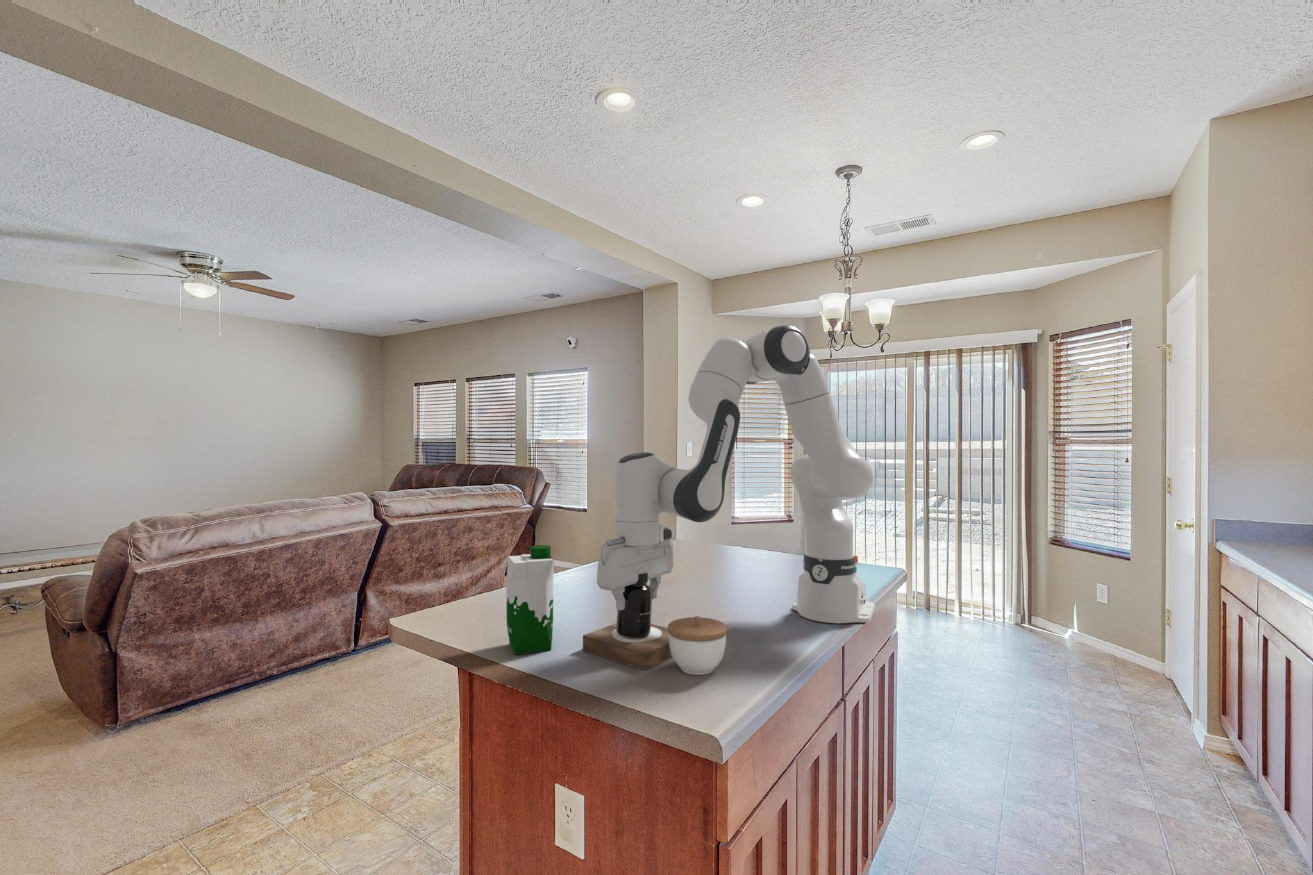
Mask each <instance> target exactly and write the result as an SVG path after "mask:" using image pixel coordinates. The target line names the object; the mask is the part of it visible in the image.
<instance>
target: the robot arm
mask: <svg viewBox="0 0 1313 875" xmlns="http://www.w3.org/2000/svg"><path fill="white" fill-rule="evenodd" d="M824 373H825V372H824V371H823V369H822V367H821V365H820V363H819V361H818V359H817V357H816V356H815V355H813V354H812V353H811V350H810V347H809V343H808V341H807V338H806V336H805V335H804V333H802V332H801V330H800V329H798V328H797V327H796V326H793V325H778V326H774V327H773V328H771V329H767V330H763V331H761V332H757V333H755V334H753V336H751V337H749V338H747V339H745V340H739V339H737V338H736V337H735V338H733V337H723V338H720V339H717V341H715V342H714V343H713V345H712V346H711V348H710V349H709V351H708V352H707V354H706V355H705V357H704V358H703V360H702V361H701V364H700V366H699V367H698V370H697V372H696V374H695V376H694V378H693V381H692V384H691V385H690V388H689V393H688V400H687V401H688V404H689V407H690V409H691V411H692V412H693V413H694V415H695V416H696V417H697V418H699V419H700V420H701V421H703V422H704V423H706V433H705V437H704V440H703V444H702V446H701V451H700V453H699V456H698V460H697V462H696V463H695V465H694V466H693V467H692V468H690V469H682V468H676V467H674V466H671V465H669V464H667V463H666V462H664V461H662V460H660V459H659V458H658V457H657V456H656V455H655V454H654V453H653V452H640V453H632V454H627V455H625V456H623V457H621V458H620V459H619V461H618V463H617V465H616V470H615V479H614V500H615V503H616V513H615V516H614V538H612V539H611V538H610V539H607V540H605V543H603V544H602V546H601V547H600V553H599V557H598V563H597V571H596V584H597V586H598V588H599V589H601V590H605V591H611V594H612V596H613V598H614V600H615V607H616V609H618V610H624V609H626V608H627V602H628V600H625V599H624V596H623V593H622V592H624V588H625V587H626V586H629V585H632V584H635V583H637V581H638V574H642V573H648V581H650V582H649V585H648V586H649V587H650V588H651V590H652V600H656V599H658V589H659V586H660V584H661V582H662V576H664V575H668V574H671V573H672V571H673V568H674V564H675V562H674V561H675V560H674V559H675V550H674V549H675V547H674V542H673V540H674V537H675V530H674V529H673V528H672V527H668V526H665V525H662V524H660V514H661V513H663V514H665V515H666V514H667V515H669V516H670V515H671V516H674V517H680V518H683V519H686V520H689V521H692V522H694V523H695V522H696V523H704V522H707V521H710V520H711V519H713V518H714V517H715V516H716V515H717V514H718V512H720V510H721V508H722V506H723V504H724V500H725V487H726V480H727V474H728V473H727V472H728V470H729V466H730V462H731V460H732V455H733V451H734V447H735V444H736V439H737V436H738V433H739V432H738V431H739V429H740V423H741V412H740V408H739V406H740V401H741V398H742V396H743V393H744V390H745V387H746V386H747V384H749V385H754V384H757V383H761V382H762V383H763V382H767V381H768V382H769V381H775V382H776V384H777V385H778V387H779V389H780V393H781V394H780V395H781V399H782V403H783V406H784V409H785V412H786V416H787V420H788V424H789V427H790V430H791V433H792V436H793V437H794V439H796V440H797V442H798V443H800V446H802V448H803V449H804V451H805V453H806V454H803V455H801V456H800V457H797V458H796V459H795V460H794V461H793V463H792V464H791V466H790V469H789V478H790V480H791V483H792V485H793V486H794V488H795V489H796V491H797V494H798V498H799V502H800V506H801V509H802V513H803V520H804V535H805V536H804V538H805V539H804V540H805V543H804V544H805V546H804V547H805V548H804V549H805V553H804V554H803V560H802V565H803V570H804V571H803V573H801V574H800V575H799V576H798V578H797V580H798V582H797V593H796V594H797V596H796V602H795V603H794V602H793V603H792V604H791V609H792V610H794V611H796V612H798V614H799V615H800V616H801V617H803V618H805V619H808V620H812V621H815V622H819V623H821V622H822V623H830V624H849V623H851V624H852V623H871V621H872V617H873V614H874V612H875V610H876V603H875V602H872V601H869V600H867V598H866V596H867V595H866V591H867V590H866V584H865V583H864V582H863V580H862V579H861V577H860V576H859V575H858V574H857V564H858V563H859V557H858V555H857V554H856V555H855V554H854V526H853V522H852V519H851V518H850V517H849V516H848V514H847V512H846V510H845V507H844V504H843V503H844V502H843V501H849V500H856V499H860V498H861V497H864V496H865V495H867V493H869V491H870V489H871V487H872V486H873V485H872V484H873V481H874V472H873V470H872V466H871V465H870V464H869V463H868V461H867V460H865V459H864V458H863V457H862V456H861V455H860V454H859V453H858V452H857V451H856V449H855V448H854V446H853V445H852V443H851V442H850V440H849V438H848V437H847V435H846V432H845V431H844V430H843V427H842V425H841V423H840V420H839V417H838V414H837V411H836V408H835V404H834V401H833V397H832V394H831V390H830V387H829V384H828V382H827V378H826V376H825V374H824Z"/></svg>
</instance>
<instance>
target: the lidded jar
mask: <svg viewBox="0 0 1313 875" xmlns="http://www.w3.org/2000/svg"><path fill="white" fill-rule="evenodd" d="M667 628H668V633H669V647H670V651H671V655H672V657H671V658H672V659H673V661H674V662H675V663H676V665H677V666H679V668H680V670H681V671H682V672H684V673H685V674H689V675H693V676H703V675H708V674H711V673H713V672H714V670H715V669H716V667H718V666H719V665H720V663H721V662H722V660H723V658H724V656H725V652H726V646H727V634H728V633H727V632H728V631H727V630H728V627H727V625H726V624H725V623H724V622H722V621H721V620H717V619H713V618H708V617H701V616H700V615H695V616H693V617H692V616H691V617H683V618H682V617H681V618H679V619H675V620H672V621H671V622H669V624H668V625H667Z"/></svg>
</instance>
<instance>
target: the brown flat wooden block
mask: <svg viewBox="0 0 1313 875" xmlns="http://www.w3.org/2000/svg"><path fill="white" fill-rule="evenodd" d="M616 627H617V622H615V623H614V624H610V625H607V626H605V627H603V628H599V629H596V630H593V631H591V632H588V633H587V634H586V633H585V634H584V635H582V651H583V652H585V653H590V654H593V655H594V656H598V657H602V658H605V659H608V660H612V661H615V662H617V663H618V662H619V663H622V664H625V665H628V666H631V667H635V668H637V669H641V670H644V671H647V670H649V669H651V668H653V667H655V666H657V665H660V664H661V663H663V662H666V661H667V660H669V659H671V658H673V657H672V655H671V651H670V647H669V633H668V627H665V626H661V625H657V624H653V623H651V631H650V634H649V635H647V636H645V637H638V638H633V637H625V636H621V635H619V634H618V633H617V631H616Z"/></svg>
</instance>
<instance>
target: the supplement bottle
mask: <svg viewBox="0 0 1313 875" xmlns="http://www.w3.org/2000/svg"><path fill="white" fill-rule="evenodd" d="M648 583H649V579H648V573H642V574H638V581H637V583H635V584H632V585H629V586H626V587H625V588H624V592H622V593H623V596H624V599H625V600H628V602H627V608H626V609H624V610H618V609H617V608H616V609H617V610H616V623H617V627H616V631H617V633H618V634H619V635H621V636H625V637H633V638H638V637H645V636H647V635H649V634H650V631H651V624H652V608H653V607H652V606H653V605H652V604H653V599H652V590H651V588H650V587H649V585H648Z"/></svg>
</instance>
